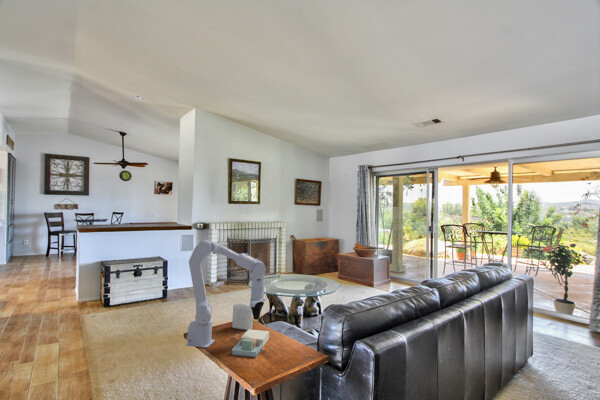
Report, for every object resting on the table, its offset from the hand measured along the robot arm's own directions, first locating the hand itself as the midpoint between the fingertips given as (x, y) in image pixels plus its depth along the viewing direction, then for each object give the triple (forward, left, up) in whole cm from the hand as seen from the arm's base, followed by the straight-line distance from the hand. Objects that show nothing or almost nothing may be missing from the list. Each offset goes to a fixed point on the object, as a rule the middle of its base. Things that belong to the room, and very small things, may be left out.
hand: (256, 319), depth 140 cm
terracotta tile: (0, -8, -9) cm, 12 cm away
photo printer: (-11, +13, -10) cm, 20 cm away
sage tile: (0, -10, -7) cm, 12 cm away
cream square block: (0, 0, -9) cm, 9 cm away
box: (0, -11, -9) cm, 14 cm away
